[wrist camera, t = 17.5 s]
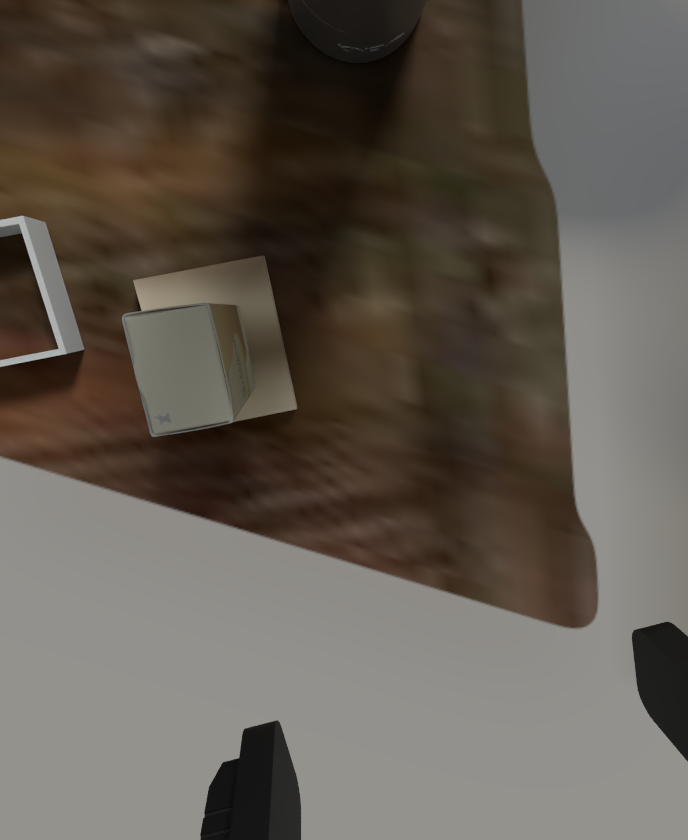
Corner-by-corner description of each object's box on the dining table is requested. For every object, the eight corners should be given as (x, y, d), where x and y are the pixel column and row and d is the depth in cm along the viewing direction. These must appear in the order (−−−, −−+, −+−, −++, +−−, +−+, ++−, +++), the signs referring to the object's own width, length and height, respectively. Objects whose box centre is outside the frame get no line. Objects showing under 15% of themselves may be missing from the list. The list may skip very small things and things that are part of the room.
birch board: (139, 281, 37) (133, 280, 36) (264, 257, 38) (263, 255, 36) (180, 428, 40) (175, 433, 39) (296, 405, 40) (296, 409, 39)
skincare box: (257, 389, 38) (237, 430, 26) (197, 399, 38) (150, 444, 26) (239, 299, 37) (210, 299, 25) (176, 309, 37) (117, 314, 25)
